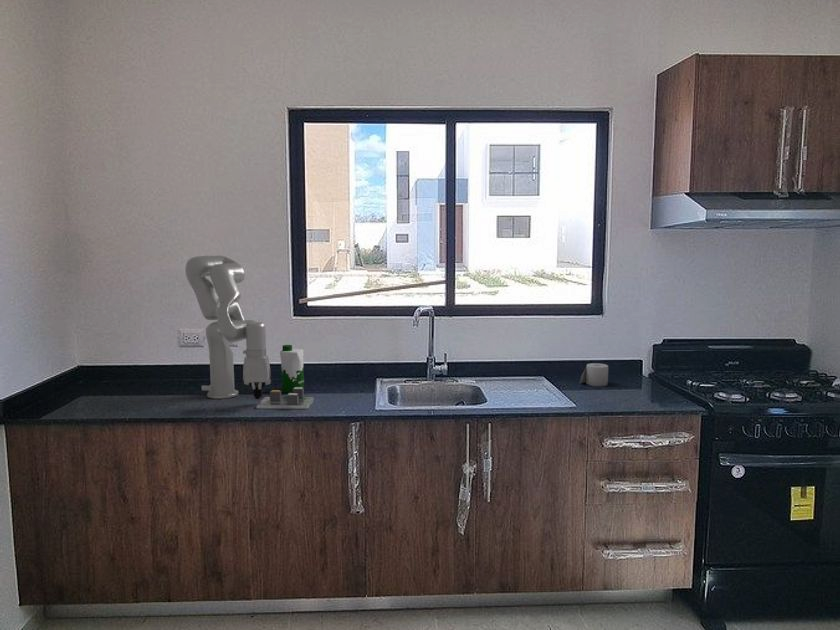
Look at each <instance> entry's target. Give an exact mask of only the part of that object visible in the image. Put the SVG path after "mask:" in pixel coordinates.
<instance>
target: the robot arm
mask: <svg viewBox="0 0 840 630" xmlns="http://www.w3.org/2000/svg"><path fill="white" fill-rule="evenodd" d="M245 275H246V273H245V269H244V268H243V266H242V265H241V264H240V263H238V262H236V261H235V260H233V259H231V258H228V257H227V256H224V255H199V256H193V257H191V258H189V259H188V260H187V261H186V264H185V276H186V279H187V282H188V284H189V285H190V286H191V288H192V290H193V292H194V295H195V297H196V299H197V303H198V305H199V308H200V311H201V314H202V316H203V318H204V319H205V320H207V321H214V322H211V323H209V324H208V325H207V327H206V328H205V337H206V342H207V345H208V352H209V355H208V356H209V357H208V358H209V372H210V373H209V374H210V375H209V376H210V384H209V385H201V389H200V390H201V391H203V392H207V394H206V396H207V398H209V399H213V400H215V399H216V400H219V399H229V398H234V397H237V396H238V395H239V390H237V389H235V372H234V371H235V370H234V369H235V368H234V366H235V365H234V353H233V350H232V348H231V347H230V346H229V344H230V343H235V342H240V341H243V340H245V343H246V344H245V345H246V349H244V350H243V351H242V354H243V355H245V357H244V359H243V365H242V367H243V368H242V371H243V372H242V380H243V384H244V385H246V386H247V385H248V386H250V388H252V390H253V397H254V399H255V400H260V399H261V398H262V397H263V388H264V387H265V386H267V385H270V384H271V383H272V380H271V377H272V375H271V374H272V373H271V366H270V360H269V355H267V341H266V339H267V338H266V335H267V334H266V324H265V323H264V322H261V321H255V320H254V319H253V320H252V319H245V317H244V314H243V311H242V309H241V306H240V304H239V300H240V299H241V297H242V295H241V292H240V290H239V287H238V285H237V284H239V283H242V282H244V280H245V277H246V276H245ZM207 277H210V280H211V281H210V280H209V279H208V278H207ZM216 320H217V321H216ZM257 383H258V384H257Z"/></svg>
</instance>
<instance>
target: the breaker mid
mask: <svg viewBox="0 0 840 630" xmlns="http://www.w3.org/2000/svg"><path fill="white" fill-rule="evenodd" d="M269 397H270V401H281V397H282V390H279V389H276V390H275V389H272V390H270V392H269Z"/></svg>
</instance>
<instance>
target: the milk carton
mask: <svg viewBox="0 0 840 630" xmlns="http://www.w3.org/2000/svg"><path fill="white" fill-rule="evenodd" d="M279 355H280V362H281V363H280V367H281V394H283V393H285V394H289V393H293V388H295V387H303V388H305V385H304V384H305V376H304V375H305V374H304V373H305V372H304V349H302V348H293V345H291V344H284V345H282V350H280V351H279Z"/></svg>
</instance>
